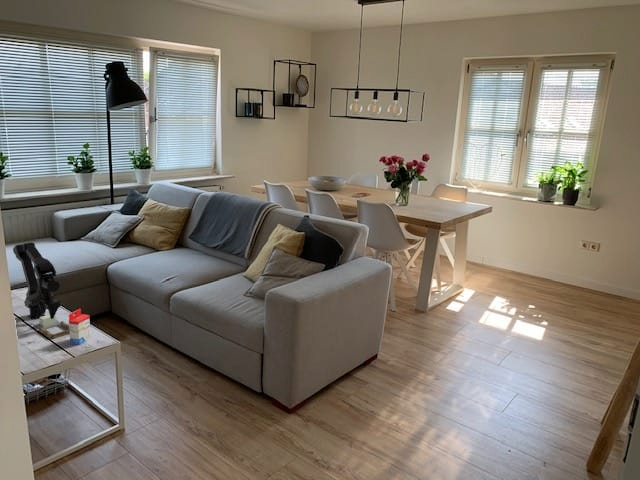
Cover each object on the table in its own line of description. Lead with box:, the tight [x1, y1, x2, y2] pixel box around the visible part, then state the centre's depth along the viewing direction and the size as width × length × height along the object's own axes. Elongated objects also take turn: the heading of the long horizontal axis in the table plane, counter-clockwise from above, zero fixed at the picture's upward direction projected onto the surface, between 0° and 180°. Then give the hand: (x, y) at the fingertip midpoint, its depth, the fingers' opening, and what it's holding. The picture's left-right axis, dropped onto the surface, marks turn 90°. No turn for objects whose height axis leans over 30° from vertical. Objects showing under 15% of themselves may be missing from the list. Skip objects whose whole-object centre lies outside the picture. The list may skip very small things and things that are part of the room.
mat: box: [34, 319, 61, 330], centre depth 247 cm, size 8×10×1 cm
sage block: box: [39, 314, 57, 327], centre depth 247 cm, size 4×6×4 cm, turn 142°
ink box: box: [68, 308, 91, 346], centre depth 231 cm, size 8×5×15 cm, turn 168°
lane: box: [38, 320, 70, 340], centre depth 240 cm, size 13×11×2 cm
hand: (47, 316), depth 246 cm, fingers open, 9 cm apart
